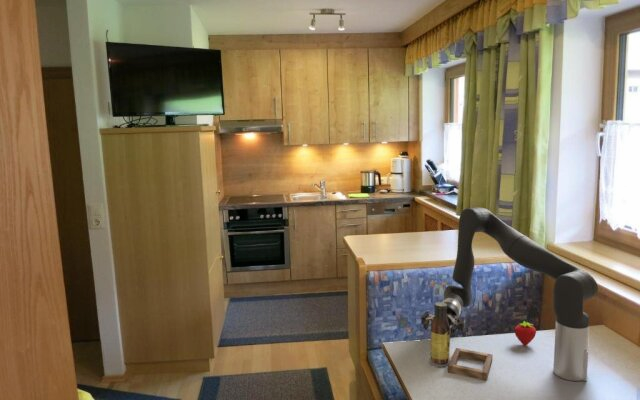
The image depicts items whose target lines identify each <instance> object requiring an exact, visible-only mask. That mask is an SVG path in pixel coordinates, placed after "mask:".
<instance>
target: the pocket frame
mask: <svg viewBox="0 0 640 400" xmlns="http://www.w3.org/2000/svg"><path fill="white" fill-rule="evenodd" d="M460 359H466V360H471V361H477V362H481V363H482V362H483V363H484V365H483V368H482V369H479V368H475V367H469V366H465V365H459V364H458V362H459V360H460ZM449 360H450V362H449V365H448V367H447V373H448V374H453V375H457V376H462V377H468V378H473V379H477V380H483V381H488V378H489V375H490V371H491V369H492V364H493V354H490V353H485V352H480V351H475V350H469V349H464V348H460V347H459V348H457V347H455V349H454V352H453V353H452V356H451V358H450V359H449Z"/></svg>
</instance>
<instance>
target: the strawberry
mask: <svg viewBox="0 0 640 400" xmlns="http://www.w3.org/2000/svg"><path fill="white" fill-rule="evenodd" d="M524 319H525V320H527V318H524ZM525 320H523V322H522V323H520V322H519V323H517V325H516V326H514V327H515V328H514V335H515V337H516V338H517V339H518V341H519V342H520V343H521V344H522V345H523V346H528V345H529V344H530V343H531V342H532V341H533V340H534V338H535V337H536V334H537V329H536V327H535V326H534V324H533V323H530V322H528V321H525Z"/></svg>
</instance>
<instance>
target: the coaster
mask: <svg viewBox="0 0 640 400" xmlns="http://www.w3.org/2000/svg"><path fill="white" fill-rule="evenodd" d="M450 360H451V359H449V361H448V362H447V363H445V364H438V363H434V362H433V361H432V360H431V356H430V357H429V359H428V364H430V366H433V367H435V368H442V369H444V368H448V365H449V362H450Z"/></svg>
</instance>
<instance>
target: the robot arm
mask: <svg viewBox="0 0 640 400" xmlns="http://www.w3.org/2000/svg"><path fill="white" fill-rule="evenodd" d="M457 233H458V234H457V236H458V237H457V252H456V258H455V264H454V267H453V271H452V280H453V281H454V282H455V283H457V284H459V285H460V286H461V287H460V286H458V285H457V286H456V285H454V284H449V285H447V286H446V287H445V289H444V292H443V301H442V302H443V303H446V304H447V309H446V316H447V320H448V323H449V326H450V335H454V334H456V332H457V331H458V330H459V331H460V332H463V331H464V330H465V326H466V317H465V316H462V317H461V318H460V315H461V311H462V310H463V308H468V307H469V306H470V305H471V303H472V299H473V298H472V279H473V273H474V271H475V256H474V252H473V239H474V236H475V233H484V234H485V235H488V236H489V237H490V238H492V239H493V240H495V241H496V242H497V243H498V245H499V247H500V249H501V250H502V252H503V253H504V254H505V255H506V256H507V258H510V260H512V261H514V262H515V263H517V265H520V266H521V267H523V268H526V269H529V270H530V271H534V272H537V273H540V274H542V275H543V274H544V275H546V276H548V277H551V278H552V279H554V280H555V281H554V285H553V311H554V314H555V329H554V330H555V332H554V333H555V334H554V335H555V336H554V349H553V350H554V351H553V368H552V369H553V373H554V375H556V376H557V377H559V378H561V379H563V380H567V381H571V382H581V381H582V382H583V381H584V382H587V380H588V366H589V365H588V364H589V338H590V337H589V336H590V322H591V320H590V319H591V318H590V316H589V314H588V313H586V312H585V311H584V302H585V301H588V300H590V299H592V298H594V297H595V296H596V295H597V293H598V290H599V285H598V283H597V280H595V279H596V278H594V277H593V276H592V274H590V273H589V272H587V271H585V270H584V269H581V268H579V267H577V266H576V265H573V264H572V263H569V262H568V261H565V260H564V259H562V258H560V257H558V256H557V255H556V254H554V253H553V252H552V251H550V250H548V249H546V248H545V247H543V246H541V245H540V244H539V243H537V242H536V241H534V240H532V239H531V238H529V237H528V236H527V235H525V234H523V233H521V232H519V230H516V229H515V228H513V227H512V226H510V225H508V224H506V223H505V222H504V221H503V220H501V219H500V218H498V217H497V216H496V215H495V214H494V213H492V212H491V211H490V210H489V209H487V208H484V207H479V206H478V207H468V208H464V209H463V210H462V211H461V212H460V215H459V219H458V231H457ZM434 318H435V312H434V313H432V314H430V312H429V311H425V312H424V313H423V314H422V315H421V316H420V324H421V325H423V329H424V331H425V330H426V331H428V329H429V328H430V326H431V323H432V320H433V319H434Z"/></svg>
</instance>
